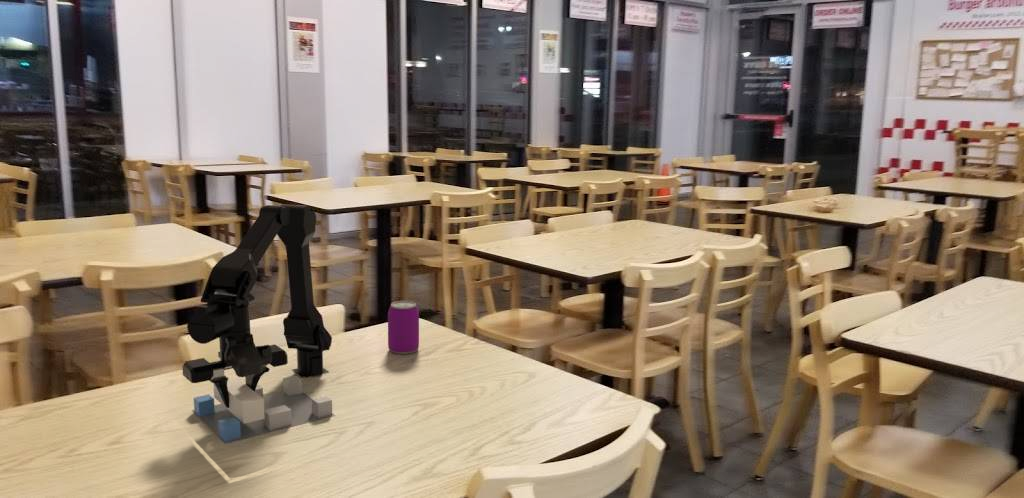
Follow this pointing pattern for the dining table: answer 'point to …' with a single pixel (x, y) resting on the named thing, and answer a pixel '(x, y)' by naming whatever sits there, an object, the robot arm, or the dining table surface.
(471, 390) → the dining table surface
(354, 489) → the dining table surface
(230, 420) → the miniature block city
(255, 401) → the long white plank
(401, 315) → the beverage can
